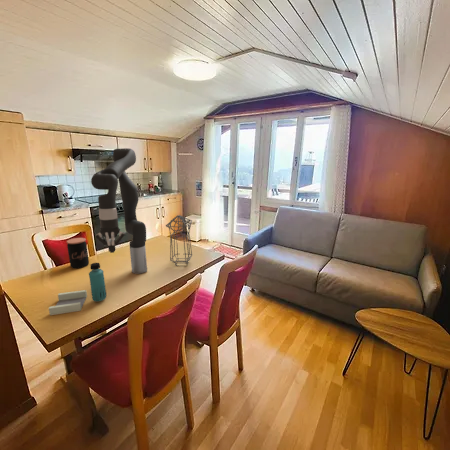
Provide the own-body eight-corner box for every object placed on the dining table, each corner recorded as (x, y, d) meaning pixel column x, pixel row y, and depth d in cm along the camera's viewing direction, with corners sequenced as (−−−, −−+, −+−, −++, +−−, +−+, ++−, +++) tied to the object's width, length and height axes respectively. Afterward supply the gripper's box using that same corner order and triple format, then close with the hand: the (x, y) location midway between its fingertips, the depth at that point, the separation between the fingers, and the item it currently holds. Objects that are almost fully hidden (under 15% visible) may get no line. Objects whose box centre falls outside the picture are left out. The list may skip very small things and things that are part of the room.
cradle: (87, 295, 118) (86, 289, 117) (80, 310, 106) (79, 304, 105) (59, 299, 114) (58, 293, 114) (49, 315, 103) (48, 308, 102)
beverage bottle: (100, 305, 111) (96, 267, 106) (89, 303, 112) (83, 265, 107) (110, 297, 117) (105, 261, 112) (98, 296, 118) (94, 260, 113)
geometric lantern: (190, 268, 152) (188, 218, 143) (167, 268, 153) (163, 217, 144) (194, 259, 168) (192, 212, 158) (173, 259, 168) (170, 212, 159)
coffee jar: (72, 270, 146) (67, 243, 141) (69, 265, 154) (65, 239, 149) (90, 266, 153) (87, 240, 148) (87, 261, 160) (84, 236, 156)
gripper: (124, 215, 112) (127, 248, 116) (94, 216, 108) (98, 250, 112) (123, 218, 105) (126, 253, 109) (90, 219, 101) (95, 256, 105)
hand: (112, 252), depth 111 cm, fingers closed
